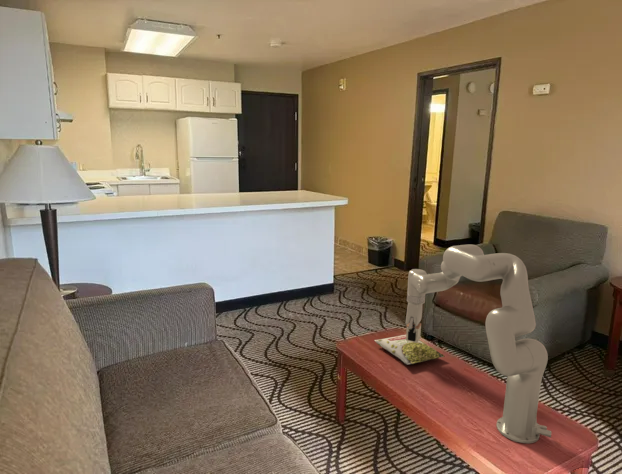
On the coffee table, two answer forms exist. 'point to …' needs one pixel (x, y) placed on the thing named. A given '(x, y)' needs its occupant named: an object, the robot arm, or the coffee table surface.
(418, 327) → the salmon block
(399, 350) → the frozen beans
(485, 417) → the coffee table surface
